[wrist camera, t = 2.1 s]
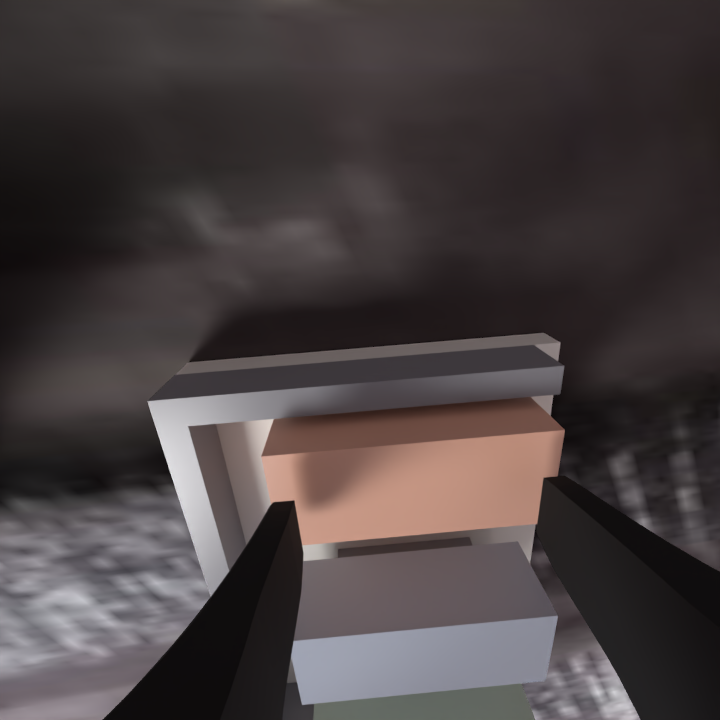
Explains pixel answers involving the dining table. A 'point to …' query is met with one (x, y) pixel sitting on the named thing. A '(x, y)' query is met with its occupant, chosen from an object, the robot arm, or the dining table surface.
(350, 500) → the key terracotta
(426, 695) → the key sage
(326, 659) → the key slate
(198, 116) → the dining table surface
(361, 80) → the dining table surface
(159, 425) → the keypad
